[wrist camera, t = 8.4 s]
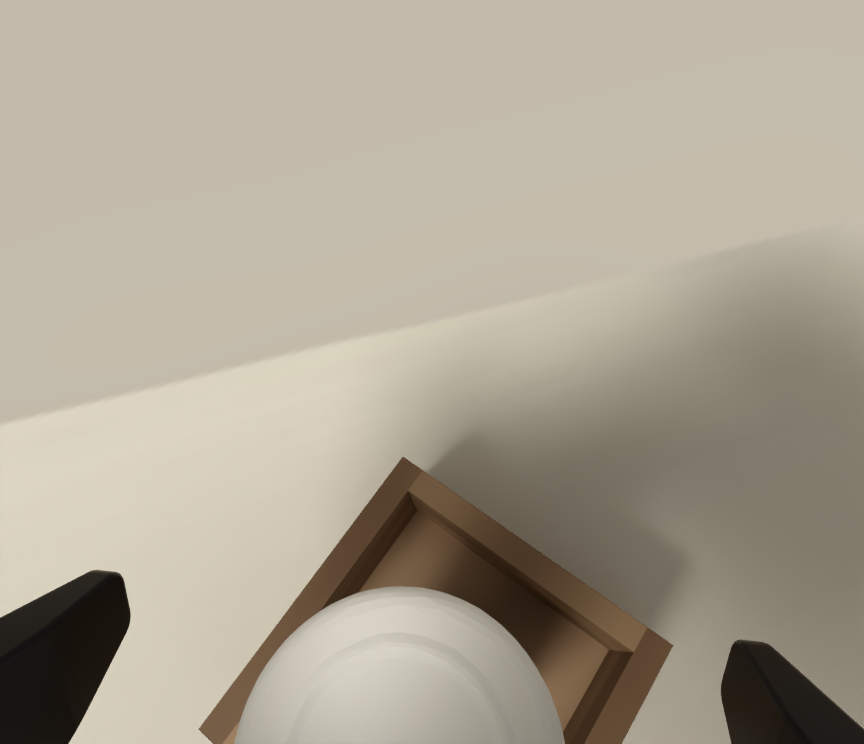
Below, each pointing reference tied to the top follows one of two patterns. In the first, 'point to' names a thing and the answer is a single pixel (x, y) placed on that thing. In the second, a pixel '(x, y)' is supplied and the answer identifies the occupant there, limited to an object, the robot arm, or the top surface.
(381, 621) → the sprinkles bottle
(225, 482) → the top surface
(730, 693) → the robot arm
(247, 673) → the crate
